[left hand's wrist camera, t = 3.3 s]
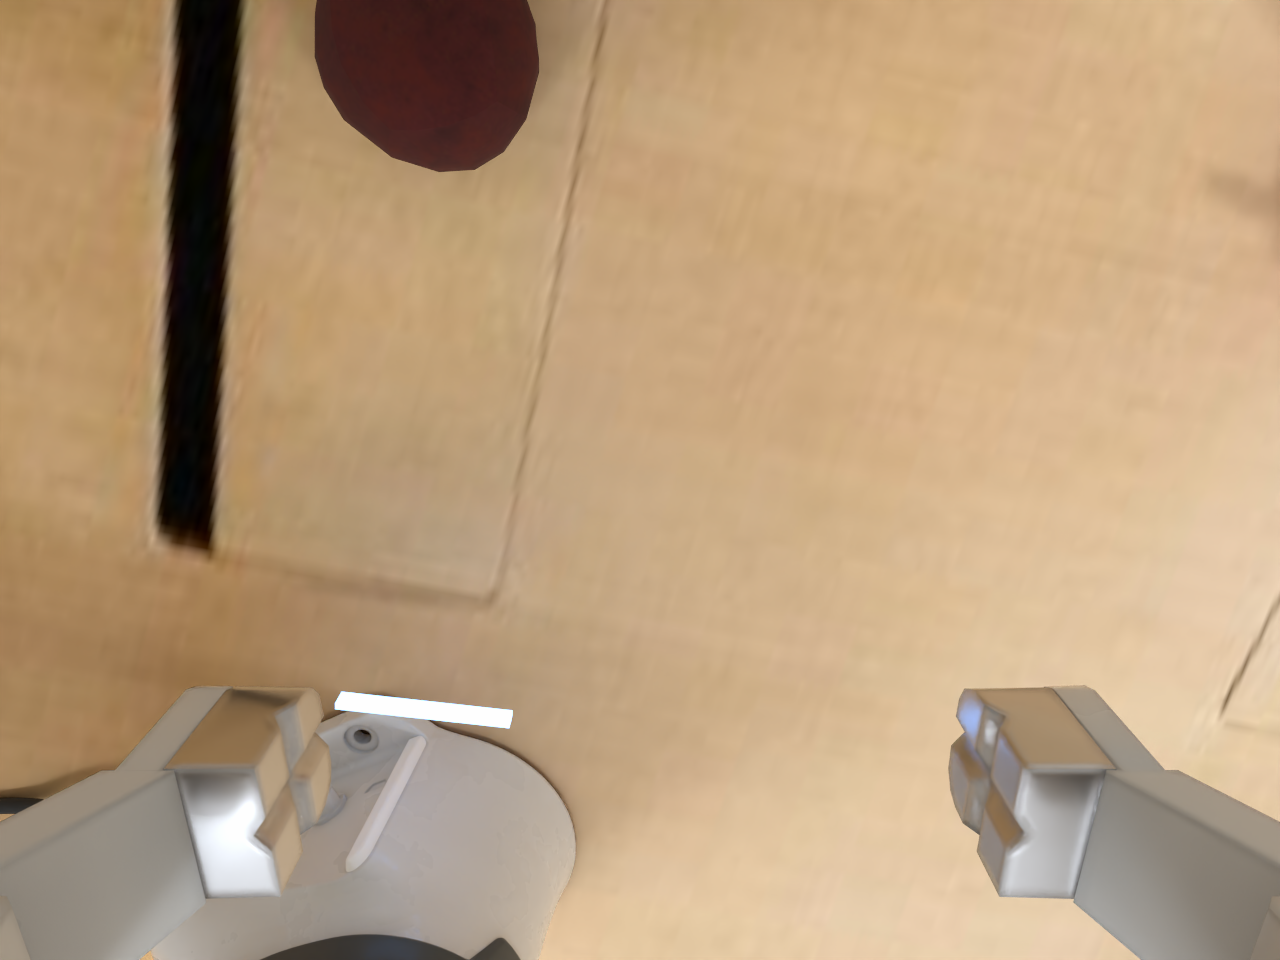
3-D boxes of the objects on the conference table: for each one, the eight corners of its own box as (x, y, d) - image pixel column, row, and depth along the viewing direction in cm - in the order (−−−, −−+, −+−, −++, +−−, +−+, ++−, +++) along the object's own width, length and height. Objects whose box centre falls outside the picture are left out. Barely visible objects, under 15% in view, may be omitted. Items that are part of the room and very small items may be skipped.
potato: (510, -87, 29) (471, -162, 22) (577, 141, 32) (560, 135, 25) (317, -20, 30) (225, -73, 23) (398, 198, 32) (336, 206, 26)
